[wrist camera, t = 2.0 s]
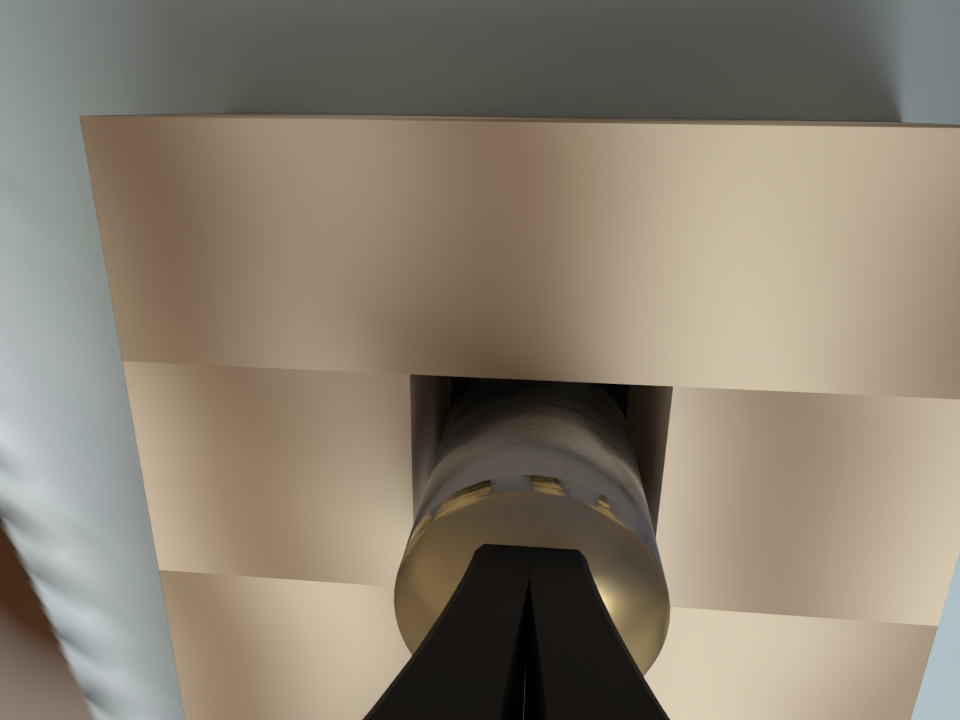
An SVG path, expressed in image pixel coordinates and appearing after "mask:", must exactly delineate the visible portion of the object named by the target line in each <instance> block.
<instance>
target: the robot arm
mask: <svg viewBox="0 0 960 720" xmlns="http://www.w3.org/2000/svg"><path fill="white" fill-rule="evenodd" d="M530 549H531V554H530ZM529 572H530V578H529ZM528 596H529V601H528ZM527 619H528V624H527ZM526 642H527V647H526ZM525 666H526V671H525ZM524 689H525V694H524ZM523 712H524V718H523ZM362 720H670V718H669V717H668V715H667V714H666V712H665V711H664V709H663V708H662V706H661V705H660V703H659V701H658V700H657V698H656V696H655V695H654V693H653V692H652V690H651V688H650V687H649V685H648V683H647V682H646V680H645V678H644V676H643V675H642V673H641V671H640V669H639V668H638V666H637V664H636V662H635V661H634V659H633V657H632V655H631V654H630V652H629V650H628V648H627V646H626V645H625V643H624V641H623V639H622V637H621V636H620V634H619V632H618V630H617V628H616V626H615V624H614V622H613V620H612V618H611V616H610V614H609V612H608V610H607V608H606V606H605V604H604V602H603V599H602V597H601V595H600V593H599V591H598V588H597V586H596V584H595V581H594V579H593V576H592V573H591V571H590V568H589V565H588V562H587V559H586V557H585V556H584V555H583V554H582V553H581V552H580V551H579V550H576V549H560V548H544V547H529V546H514V545H498V544H483V545H481V546H480V547H479V548H478V549H476V550H475V552H474V554H473V557H472V559H471V562H470V564H469V566H468V568H467V570H466V572H465V574H464V575H463V577H462V579H461V581H460V583H459V584H458V586H457V588H456V590H455V591H454V593H453V595H452V596H451V598H450V600H449V601H448V603H447V605H446V606H445V608H444V610H443V611H442V613H441V614H440V616H439V617H438V619H437V620H436V622H435V623H434V625H433V626H432V628H431V629H430V631H429V632H428V633H427V635H426V636H425V638H424V639H423V641H422V642H421V644H420V645H419V647H418V648H417V650H416V651H415V653H414V654H413V655H412V657H411V658H410V660H409V661H408V662H407V663H406V665H405V666H404V667H403V669H402V670H401V671H400V673H399V674H398V675H397V676H396V678H395V679H394V680H393V682H392V683H391V684H390V685H389V687H388V688H387V689H386V691H385V692H384V693H383V694H382V696H381V697H380V698H379V700H378V701H377V702H376V704H375V705H374V706H373V707H372V709H371V710H370V711H369V712H368V713H367V715H366V716H365V717H364V718H363V719H362Z"/></svg>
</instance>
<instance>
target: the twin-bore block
mask: <svg viewBox="0 0 960 720" xmlns="http://www.w3.org/2000/svg"><path fill="white" fill-rule="evenodd" d="M80 121H81V127H82V132H83V138H84V144H85V150H86V155H87V161H88V167H89V172H90V178H91V184H92V190H93V195H94V201H95V207H96V213H97V218H98V224H99V230H100V235H101V241H102V247H103V253H104V258H105V264H106V270H107V275H108V281H109V287H110V293H111V298H112V304H113V310H114V316H115V321H116V327H117V333H118V338H119V344H120V350H121V356H122V361H123V367H124V373H125V379H126V384H127V390H128V396H129V401H130V407H131V413H132V419H133V424H134V430H135V436H136V442H137V447H138V453H139V459H140V464H141V470H142V476H143V482H144V487H145V493H146V499H147V504H148V510H149V516H150V522H151V527H152V533H153V539H154V545H155V550H156V556H157V562H158V567H159V573H160V579H161V585H162V590H163V596H164V602H165V608H166V613H167V619H168V625H169V630H170V636H171V642H172V648H173V653H174V659H175V665H176V671H177V676H178V682H179V688H180V693H181V699H182V705H183V711H184V716H185V720H362V719H363V718H364V717H365V716H366V715H367V713H368V712H369V711H370V710H371V709H372V707H373V706H374V705H375V704H376V702H377V701H378V700H379V698H380V697H381V696H382V694H383V693H384V692H385V691H386V689H387V688H388V687H389V685H390V684H391V683H392V682H393V680H394V679H395V678H396V676H397V675H398V674H399V673H400V671H401V670H402V669H403V667H404V666H405V665H406V663H407V662H408V661H409V660H410V658H411V657H412V654H411V653H410V651H409V649H408V648H407V646H406V645H405V642H404V640H403V638H402V635H401V633H400V631H399V627H398V624H397V620H396V616H395V608H394V587H395V582H396V577H397V572H398V569H399V566H400V563H401V560H402V557H403V554H404V551H405V548H406V545H407V542H408V539H409V536H410V533H411V530H412V527H413V524H414V521H415V518H416V515H417V512H418V509H419V506H420V503H421V500H422V496H423V493H424V490H425V487H426V484H427V481H428V478H429V475H430V472H431V469H432V466H433V463H434V460H435V457H436V454H437V451H438V448H439V445H440V442H441V439H442V436H443V433H444V430H445V427H446V424H447V421H448V418H449V416H450V414H451V376H456V377H478V378H500V379H522V380H544V381H566V382H588V383H610V384H629V391H628V402H627V413H626V422H627V425H628V428H629V432H630V435H631V440H632V444H633V448H634V452H635V456H636V460H637V464H638V468H639V472H640V476H641V481H642V485H643V489H644V493H645V497H646V501H647V505H648V509H649V513H650V518H651V522H652V526H653V530H654V534H655V538H656V542H657V546H658V550H659V555H660V559H661V563H662V567H663V571H664V575H665V579H666V583H667V587H668V592H669V600H670V623H669V628H668V633H667V637H666V640H665V642H664V645H663V647H662V650H661V652H660V654H659V655H658V657H657V659H656V661H655V662H654V664H653V665H652V667H651V668H650V669H649V670H648V672H647V673H646V674H645V675H644V678H645V680H646V682H647V683H648V685H649V687H650V688H651V690H652V692H653V693H654V695H655V696H656V698H657V700H658V701H659V703H660V705H661V706H662V708H663V709H664V711H665V712H666V714H667V715H668V717H669V718H670V720H911V716H912V713H913V710H914V706H915V703H916V699H917V696H918V692H919V689H920V686H921V682H922V679H923V675H924V672H925V668H926V665H927V662H928V658H929V655H930V651H931V648H932V644H933V641H934V638H935V634H936V631H937V627H938V624H939V621H940V617H941V614H942V610H943V607H944V603H945V600H946V597H947V593H948V590H949V586H950V583H951V579H952V576H953V573H954V569H955V566H956V562H957V559H958V555H959V552H960V125H954V124H930V123H907V122H840V121H766V120H691V119H617V118H543V117H469V116H394V115H320V114H246V113H211V114H155V115H100V116H80ZM523 718H524V717H523Z"/></svg>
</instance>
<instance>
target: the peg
mask: <svg viewBox="0 0 960 720" xmlns="http://www.w3.org/2000/svg"><path fill="white" fill-rule="evenodd" d="M483 544H498V545H514V546H529V547H544V548H560V549H576V550H579V551H580V552H581V553H582V554H583V555H584V556H585V557H586V559H587V562H588V565H589V568H590V571H591V573H592V576H593V579H594V581H595V584H596V586H597V588H598V591H599V593H600V595H601V597H602V599H603V602H604V604H605V606H606V608H607V610H608V612H609V614H610V616H611V618H612V620H613V622H614V624H615V626H616V628H617V630H618V632H619V634H620V636H621V637H622V639H623V641H624V643H625V645H626V646H627V648H628V650H629V652H630V654H631V655H632V657H633V659H634V661H635V662H636V664H637V666H638V668H639V669H640V671H641V673H642V675H643V676H644V675H645V674H646V673H647V672H648V670H649V669H650V668H651V667H652V665H653V664H654V662H655V661H656V659H657V657H658V655H659V654H660V652H661V650H662V647H663V645H664V642H665V640H666V637H667V633H668V628H669V623H670V600H669V592H668V587H667V583H666V579H665V575H664V571H663V567H662V563H661V559H660V555H659V550H658V546H657V542H656V538H655V534H654V530H653V526H652V522H651V518H650V513H649V509H648V505H647V501H646V497H645V493H644V489H643V485H642V481H641V476H640V472H639V468H638V464H637V460H636V456H635V452H634V448H633V444H632V440H631V435H630V432H629V428H628V425H627V422H626V420H625V418H624V415H623V413H622V412H621V410H620V409H619V407H618V405H617V404H616V402H615V401H614V400H613V399H612V398H611V397H610V395H609V394H608V393H607V392H606V391H605V390H603V389H602V388H601V387H600V386H599V385H597V384H596V383H588V382H566V381H544V380H522V379H500V378H483V379H481V380H480V381H478V382H477V383H476V384H474V385H473V386H472V387H470V388H469V389H468V390H467V391H466V393H465V394H464V395H463V396H462V397H461V398H460V399H459V401H458V402H457V403H456V405H455V406H454V408H453V410H452V412H451V414H450V416H449V418H448V421H447V424H446V427H445V430H444V433H443V436H442V439H441V442H440V445H439V448H438V451H437V454H436V457H435V460H434V463H433V466H432V469H431V472H430V475H429V478H428V481H427V484H426V487H425V490H424V493H423V496H422V500H421V503H420V506H419V509H418V512H417V515H416V518H415V521H414V524H413V527H412V530H411V533H410V536H409V539H408V542H407V545H406V548H405V551H404V554H403V557H402V560H401V563H400V566H399V569H398V572H397V577H396V582H395V587H394V608H395V616H396V620H397V624H398V627H399V631H400V633H401V635H402V638H403V640H404V642H405V645H406V646H407V648H408V649H409V651H410V653H411V654H412V655H413V654H414V653H415V651H416V650H417V648H418V647H419V645H420V644H421V642H422V641H423V639H424V638H425V636H426V635H427V633H428V632H429V631H430V629H431V628H432V626H433V625H434V623H435V622H436V620H437V619H438V617H439V616H440V614H441V613H442V611H443V610H444V608H445V606H446V605H447V603H448V601H449V600H450V598H451V596H452V595H453V593H454V591H455V590H456V588H457V586H458V584H459V583H460V581H461V579H462V577H463V575H464V574H465V572H466V570H467V568H468V566H469V564H470V562H471V559H472V557H473V554H474V552H475V550H476V549H478V548H479V547H480V546H481V545H483ZM530 554H531V549H530ZM529 578H530V572H529ZM528 601H529V596H528ZM527 624H528V619H527ZM526 647H527V642H526ZM525 671H526V666H525ZM524 694H525V689H524ZM523 717H524V712H523Z"/></svg>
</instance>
